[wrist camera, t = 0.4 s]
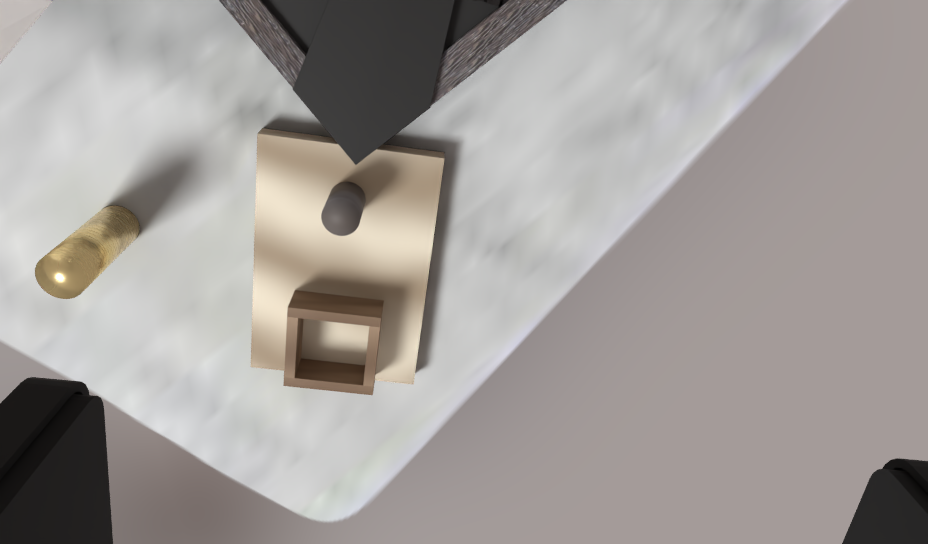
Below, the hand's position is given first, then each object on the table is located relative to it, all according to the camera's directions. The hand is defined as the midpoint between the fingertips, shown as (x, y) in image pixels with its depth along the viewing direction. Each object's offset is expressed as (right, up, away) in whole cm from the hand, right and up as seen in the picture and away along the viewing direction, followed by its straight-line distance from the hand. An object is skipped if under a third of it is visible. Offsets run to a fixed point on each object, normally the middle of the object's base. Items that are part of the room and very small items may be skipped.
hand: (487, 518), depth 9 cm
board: (-7, +4, +35) cm, 36 cm away
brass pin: (-20, +6, +33) cm, 39 cm away
